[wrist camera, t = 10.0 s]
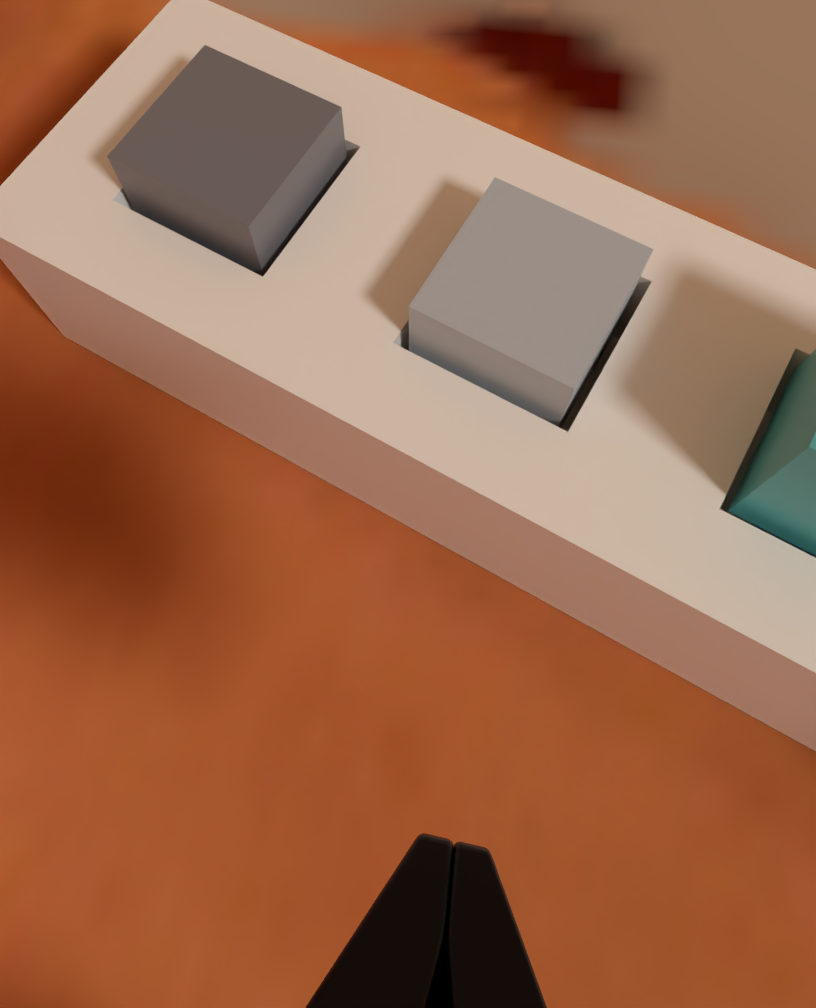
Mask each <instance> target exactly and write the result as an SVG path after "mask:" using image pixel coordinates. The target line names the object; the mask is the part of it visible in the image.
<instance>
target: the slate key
mask: <svg viewBox="0 0 816 1008" xmlns="http://www.w3.org/2000/svg"><path fill="white" fill-rule="evenodd" d="M653 250H654V249H652V248H650V247H647V246H645V245H643V244H641V243H639V242H636V241H634V240H632V239H630V238H628V237H625V236H623V235H621V234H619V233H617V232H615V231H612V230H610V229H608V228H606V227H604V226H601V225H599V224H597V223H595V222H593V221H590V220H588V219H586V218H584V217H582V216H579V215H577V214H575V213H573V212H571V211H568V210H566V209H564V208H562V207H560V206H557V205H555V204H553V203H551V202H549V201H546V200H544V199H542V198H540V197H538V196H535V195H533V194H531V193H529V192H527V191H524V190H522V189H520V188H518V187H516V186H513V185H511V184H509V183H507V182H505V181H502V180H500V179H498V178H496V177H495V178H494V179H493V181H492V182H491V184H490V185H489V187H488V188H487V190H486V191H485V193H484V194H483V196H482V197H481V199H480V200H479V202H478V203H477V205H476V206H475V208H474V209H473V211H472V212H471V214H470V215H469V217H468V218H467V220H466V221H465V223H464V224H463V226H462V227H461V229H460V230H459V232H458V233H457V235H456V236H455V238H454V239H453V241H452V242H451V244H450V245H449V247H448V248H447V250H446V251H445V253H444V254H443V256H442V257H441V259H440V260H439V262H438V263H437V265H436V266H435V268H434V269H433V271H432V272H431V274H430V275H429V277H428V278H427V280H426V281H425V283H424V284H423V286H422V287H421V289H420V290H419V292H418V293H417V295H416V296H415V298H414V299H413V301H412V302H411V304H410V305H409V351H410V352H412V353H414V354H416V355H418V356H420V357H422V358H424V359H426V360H428V361H430V362H432V363H434V364H435V365H437V366H439V367H441V368H443V369H445V370H447V371H449V372H451V373H453V374H455V375H457V376H459V377H461V378H463V379H465V380H467V381H469V382H471V383H473V384H475V385H477V386H479V387H481V388H483V389H485V390H487V391H489V392H491V393H493V394H494V395H496V396H498V397H500V398H502V399H504V400H506V401H508V402H510V403H512V404H514V405H516V406H518V407H520V408H522V409H524V410H526V411H528V412H530V413H532V414H534V415H536V416H538V417H540V418H542V419H544V420H546V421H548V422H550V423H552V424H554V425H555V426H557V427H559V428H561V427H562V425H563V423H564V422H565V420H566V418H567V416H568V415H569V413H570V411H571V409H572V407H573V406H574V404H575V402H576V400H577V399H578V397H579V395H580V393H581V391H582V390H583V388H584V386H585V384H586V383H587V381H588V379H589V377H590V375H591V374H592V372H593V370H594V368H595V367H596V365H597V363H598V361H599V359H600V358H601V356H602V354H603V352H604V350H605V349H606V347H607V345H608V343H609V342H610V340H611V338H612V336H613V334H614V332H615V330H616V328H617V326H618V324H619V322H620V319H621V317H622V315H623V313H624V311H625V309H626V307H627V305H628V302H629V300H630V298H631V296H632V294H633V292H634V290H635V288H636V286H637V283H638V281H639V279H640V277H641V275H642V273H643V271H644V269H645V267H646V264H647V262H648V260H649V258H650V256H651V254H652V252H653Z"/></svg>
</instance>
